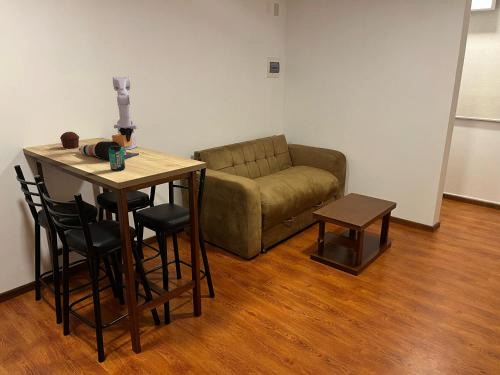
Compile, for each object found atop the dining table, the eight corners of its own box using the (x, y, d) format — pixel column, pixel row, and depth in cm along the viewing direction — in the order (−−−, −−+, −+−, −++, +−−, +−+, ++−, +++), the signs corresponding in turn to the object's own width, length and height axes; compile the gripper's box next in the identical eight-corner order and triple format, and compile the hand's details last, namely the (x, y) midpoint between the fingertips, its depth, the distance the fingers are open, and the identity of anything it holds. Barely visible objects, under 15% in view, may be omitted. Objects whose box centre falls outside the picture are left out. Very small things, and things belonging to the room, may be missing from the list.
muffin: (60, 147, 254) (58, 131, 251) (78, 145, 260) (76, 130, 257) (63, 150, 244) (60, 134, 241) (82, 148, 250) (80, 132, 247)
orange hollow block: (121, 143, 230) (119, 133, 228) (132, 144, 228) (131, 133, 226) (113, 146, 223) (111, 135, 221) (124, 146, 221) (123, 135, 219)
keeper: (122, 153, 235) (122, 146, 234) (138, 154, 232) (138, 147, 231) (107, 158, 222) (107, 151, 221) (124, 159, 219) (123, 152, 218)
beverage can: (126, 167, 202) (124, 144, 198) (123, 171, 195) (120, 147, 191) (113, 168, 201) (110, 144, 198) (108, 171, 195) (106, 147, 191)
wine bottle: (85, 160, 239) (90, 144, 241) (118, 162, 219) (123, 144, 220) (69, 155, 231) (74, 138, 233) (102, 156, 211) (107, 138, 212)
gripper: (109, 117, 218) (111, 141, 222) (132, 118, 214) (134, 143, 218) (117, 116, 225) (119, 139, 229) (139, 117, 220) (141, 141, 224)
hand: (127, 141), depth 224 cm, fingers closed on orange hollow block
